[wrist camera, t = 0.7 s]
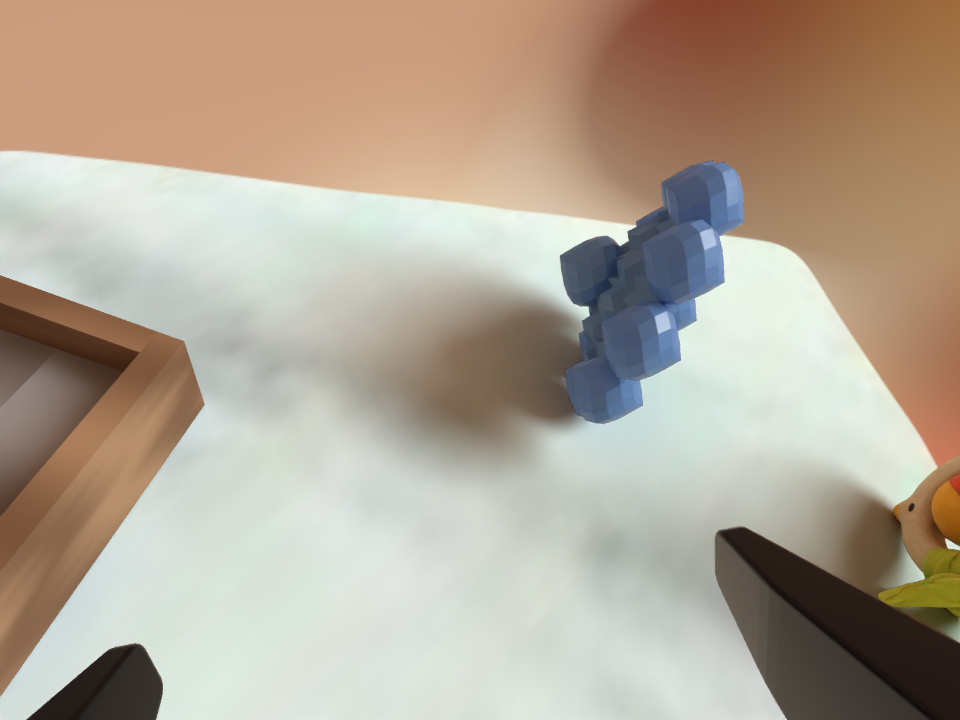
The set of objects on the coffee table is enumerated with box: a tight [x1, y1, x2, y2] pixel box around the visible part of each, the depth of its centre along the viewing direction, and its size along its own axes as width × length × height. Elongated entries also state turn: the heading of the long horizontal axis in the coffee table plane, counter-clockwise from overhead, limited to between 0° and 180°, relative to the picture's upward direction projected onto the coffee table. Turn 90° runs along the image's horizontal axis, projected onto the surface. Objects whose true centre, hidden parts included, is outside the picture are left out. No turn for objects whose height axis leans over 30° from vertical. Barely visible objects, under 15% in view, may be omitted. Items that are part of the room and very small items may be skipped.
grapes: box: [560, 161, 744, 424], centre depth 25 cm, size 12×7×12 cm, turn 158°
